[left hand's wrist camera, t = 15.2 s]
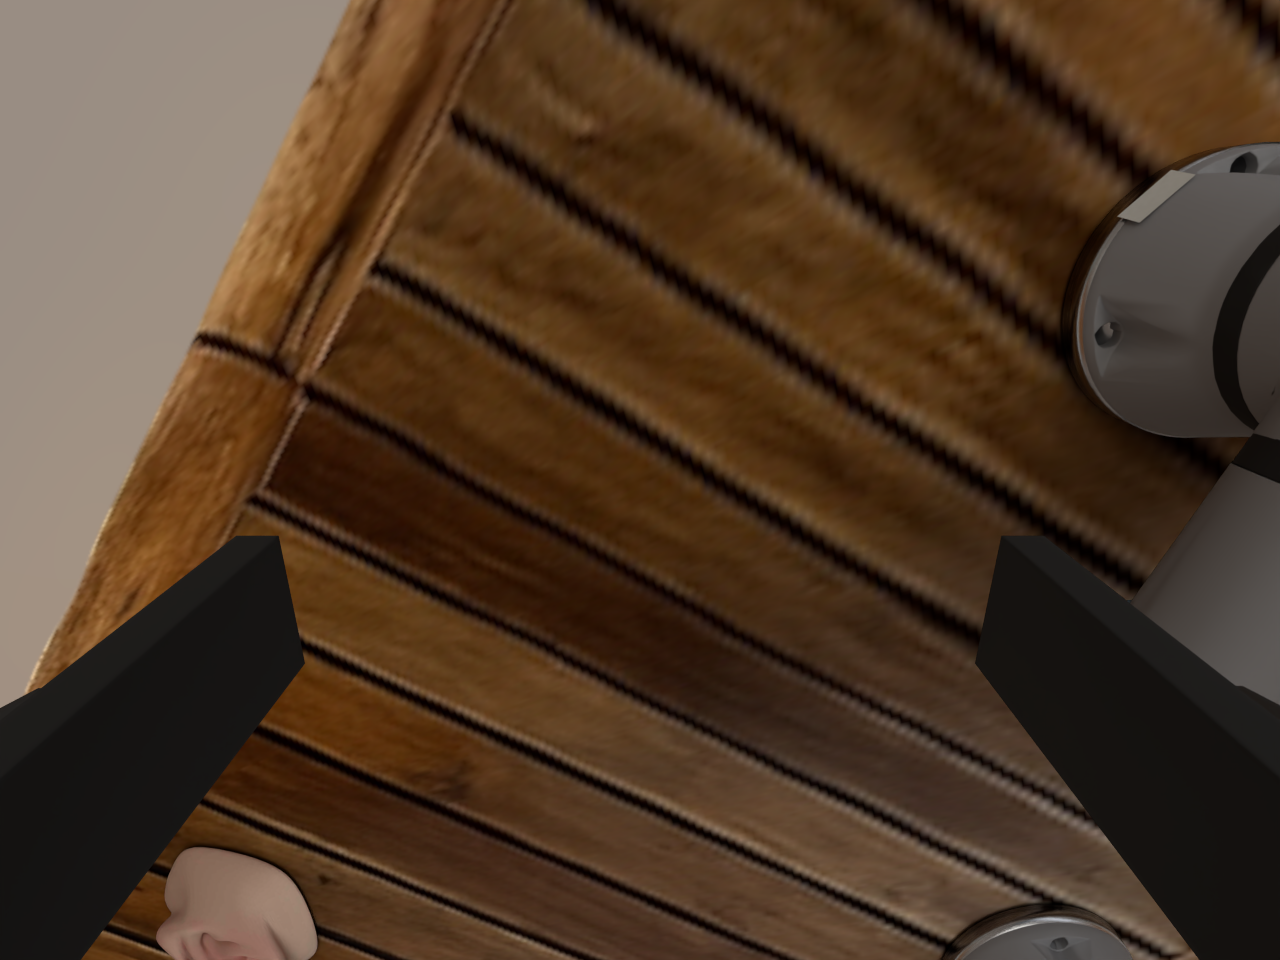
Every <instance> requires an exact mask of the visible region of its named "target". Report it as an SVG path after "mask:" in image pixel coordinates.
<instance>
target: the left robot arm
mask: <svg viewBox="0 0 1280 960" xmlns="http://www.w3.org/2000/svg"><path fill="white" fill-rule="evenodd" d="M1062 336H1063V346H1064V351H1065V355H1066V359H1067V362H1068V365H1069V368H1070V370H1071V373H1072V375H1073V377H1074V379H1075V381H1076V382H1077V384H1078V385H1079V387H1080V389H1081V390H1082V391H1083V392H1084V394H1085V395H1086V396H1087V397H1088V398H1089V399H1090V400H1091V401H1092V402H1093V403H1094V404H1095V405H1096V406H1097V407H1099V408H1100V409H1101V410H1103V411H1104V412H1106V413H1107V414H1109V415H1111V416H1113V417H1114V418H1116V419H1119V420H1121V421H1124V422H1126V423H1128V424H1131V425H1133V426H1136V427H1138V428H1140V429H1143V430H1145V431H1148V432H1151V433H1155V434H1158V435H1164V436H1169V437H1181V438H1194V437H1250V438H1249V439H1248V441H1247V442H1246V444H1245V445H1244V446H1243V448H1242V449H1241V451H1240V452H1239V453H1238V455H1237V456H1236V458H1235V459H1234V460H1233V461H1232V463H1230V465H1229V466H1228V467H1227V469H1226V470H1225V472H1224V473H1223V474H1222V476H1221V477H1220V479H1219V480H1218V481H1217V483H1216V484H1215V486H1214V487H1213V488H1212V490H1211V491H1210V492H1209V494H1208V495H1207V497H1206V498H1205V499H1204V501H1203V502H1202V504H1201V505H1200V506H1199V508H1198V509H1197V511H1196V512H1195V513H1194V515H1193V516H1192V518H1191V519H1190V520H1189V522H1188V523H1187V524H1186V526H1185V527H1184V529H1183V530H1182V531H1181V533H1180V534H1179V536H1178V537H1177V538H1176V540H1175V541H1174V543H1173V544H1172V545H1171V547H1170V548H1169V550H1168V551H1167V552H1166V554H1165V555H1164V557H1163V558H1162V559H1161V561H1160V562H1159V563H1158V565H1157V566H1156V568H1155V569H1154V570H1153V572H1152V573H1151V575H1150V576H1149V577H1148V579H1147V580H1146V582H1145V583H1144V584H1143V586H1142V587H1141V589H1140V590H1139V591H1138V593H1137V594H1136V596H1135V597H1134V598H1133V600H1127V601H1126V600H1125V599H1124V598H1123V597H1121V596H1120V595H1119V594H1118V593H1116V592H1115V591H1114V590H1112V589H1111V588H1110V587H1109V586H1107V585H1106V584H1105V583H1103V582H1102V581H1101V580H1100V579H1098V578H1097V577H1096V576H1094V575H1093V574H1092V573H1091V572H1089V571H1088V570H1087V569H1086V568H1084V567H1083V566H1082V565H1080V564H1079V563H1078V562H1077V561H1075V560H1074V559H1073V558H1071V557H1070V556H1069V555H1068V554H1066V553H1065V552H1064V551H1062V550H1061V549H1060V548H1059V547H1057V546H1056V545H1055V544H1053V543H1052V542H1051V541H1050V540H1048V539H1047V538H1046V537H1045V536H1001V541H1000V545H999V550H998V555H997V560H996V565H995V570H994V574H993V579H992V584H991V589H990V594H989V599H988V604H987V608H986V613H985V618H984V623H983V628H982V633H981V637H980V642H979V647H978V652H977V657H976V662H975V664H976V665H977V667H978V668H979V669H980V671H981V672H982V673H983V674H984V676H985V677H986V678H987V680H988V681H989V682H990V684H991V685H992V686H993V688H994V689H995V690H996V692H997V693H998V694H999V696H1000V697H1001V698H1002V700H1003V701H1004V702H1005V704H1006V705H1007V706H1008V708H1009V709H1010V710H1011V711H1012V713H1013V714H1014V715H1015V717H1016V718H1017V719H1018V721H1019V722H1020V723H1021V725H1022V726H1023V727H1024V729H1025V730H1026V731H1027V733H1028V734H1029V735H1030V737H1031V738H1032V739H1033V741H1034V742H1035V743H1036V745H1037V746H1038V747H1039V748H1040V750H1041V751H1042V752H1043V754H1044V755H1045V756H1046V758H1047V759H1048V760H1049V762H1050V763H1051V764H1052V766H1053V767H1054V768H1055V770H1056V771H1057V772H1058V774H1059V775H1060V776H1061V778H1062V779H1063V780H1064V781H1065V783H1066V784H1067V785H1068V787H1069V788H1070V789H1071V791H1072V792H1073V793H1074V795H1075V796H1076V797H1077V799H1078V800H1079V801H1080V803H1081V804H1082V805H1083V807H1084V808H1085V809H1086V811H1087V812H1088V813H1089V815H1090V816H1091V817H1092V818H1093V820H1094V821H1095V822H1096V824H1097V825H1098V826H1099V828H1100V829H1101V830H1102V832H1103V833H1104V834H1105V836H1106V837H1107V838H1108V840H1109V841H1110V842H1111V844H1112V845H1113V846H1114V848H1115V849H1116V850H1117V852H1118V853H1119V854H1120V855H1121V857H1122V858H1123V859H1124V861H1125V862H1126V863H1127V865H1128V866H1129V867H1130V869H1131V870H1132V871H1133V873H1134V874H1135V875H1136V877H1137V878H1138V879H1139V881H1140V882H1141V883H1142V885H1143V886H1144V887H1145V889H1146V890H1147V891H1148V892H1149V894H1150V895H1151V896H1152V898H1153V899H1154V900H1155V902H1156V903H1157V904H1158V906H1159V907H1160V908H1161V910H1162V911H1163V912H1164V914H1165V915H1166V916H1167V918H1168V919H1169V920H1170V922H1171V923H1172V924H1173V926H1174V927H1175V928H1176V929H1177V931H1178V932H1179V933H1180V935H1181V936H1182V937H1183V939H1184V940H1185V941H1186V943H1187V944H1188V945H1189V947H1190V948H1191V949H1192V951H1193V952H1194V953H1195V955H1196V956H1197V957H1198V959H1199V960H1280V142H1262V143H1254V144H1246V145H1238V146H1230V147H1222V148H1217V149H1212V150H1208V151H1204V152H1201V153H1198V154H1195V155H1192V156H1189V157H1187V158H1184V159H1182V160H1180V161H1177V162H1175V163H1173V164H1171V165H1170V166H1168V167H1166V168H1164V169H1162V170H1160V171H1159V172H1157V173H1156V174H1154V175H1152V176H1151V177H1149V178H1148V179H1146V180H1145V181H1144V182H1142V183H1141V184H1140V185H1138V186H1137V187H1136V188H1134V189H1133V190H1132V191H1131V192H1130V193H1129V194H1128V195H1127V196H1125V197H1124V198H1123V199H1122V200H1121V201H1120V202H1119V203H1118V204H1117V205H1116V206H1115V207H1114V208H1113V209H1112V210H1111V211H1110V213H1109V214H1108V215H1107V216H1106V217H1105V219H1104V220H1103V221H1102V222H1101V223H1100V225H1099V226H1098V228H1097V229H1096V230H1095V232H1094V233H1093V235H1092V236H1091V238H1090V239H1089V241H1088V243H1087V244H1086V246H1085V248H1084V249H1083V251H1082V253H1081V255H1080V257H1079V259H1078V261H1077V263H1076V266H1075V268H1074V271H1073V273H1072V276H1071V278H1070V282H1069V285H1068V289H1067V292H1066V297H1065V302H1064V307H1063V317H1062ZM304 664H305V662H304V657H303V652H302V647H301V642H300V637H299V633H298V628H297V623H296V618H295V613H294V608H293V604H292V599H291V594H290V589H289V584H288V579H287V575H286V570H285V565H284V560H283V555H282V550H281V545H280V541H279V536H235V537H234V538H233V539H232V540H230V541H229V542H228V543H227V544H225V545H224V546H223V547H221V548H220V549H219V550H218V551H216V552H215V553H214V554H212V555H211V556H210V557H209V558H207V559H206V560H205V561H203V562H202V563H201V564H200V565H198V566H197V567H196V568H194V569H193V570H192V571H191V572H189V573H188V574H187V575H186V576H184V577H183V578H182V579H180V580H179V581H178V582H177V583H175V584H174V585H173V586H171V587H170V588H169V589H168V590H166V591H165V592H164V593H162V594H161V595H160V596H159V597H157V598H156V599H155V600H154V601H152V602H151V603H150V604H148V605H147V606H146V607H145V608H143V609H142V610H141V611H139V612H138V613H137V614H136V615H134V616H133V617H132V618H130V619H129V620H128V621H127V622H125V623H124V624H123V625H121V626H120V627H119V628H118V629H116V630H115V631H114V632H113V633H111V634H110V635H109V636H107V637H106V638H105V639H104V640H102V641H101V642H100V643H98V644H97V645H96V646H95V647H93V648H92V649H91V650H89V651H88V652H87V653H86V654H84V655H83V656H82V657H81V658H79V659H78V660H77V661H75V662H74V663H73V664H72V665H70V666H69V667H68V668H66V669H65V670H64V671H63V672H61V673H60V674H59V675H57V676H56V677H55V678H54V679H52V680H51V681H50V682H48V683H47V684H46V685H45V686H43V687H42V688H38V689H36V690H34V691H32V692H30V693H28V694H26V695H24V696H22V697H21V698H19V699H17V700H15V701H13V702H11V703H9V704H7V705H5V706H3V707H1V708H0V960H81V959H82V957H83V956H84V955H85V953H86V952H87V951H88V949H89V948H90V947H91V945H92V944H93V943H94V941H95V940H96V939H97V937H98V936H99V935H100V933H101V932H102V931H103V929H104V928H105V927H106V926H107V924H108V923H109V922H110V920H111V919H112V918H113V916H114V915H115V914H116V912H117V911H118V910H119V908H120V907H121V906H122V904H123V903H124V902H125V900H126V899H127V898H128V896H129V895H130V894H131V892H132V891H133V890H134V889H135V887H136V886H137V885H138V883H139V882H140V881H141V879H142V878H143V877H144V875H145V874H146V873H147V871H148V870H149V869H150V867H151V866H152V865H153V863H154V862H155V861H156V859H157V858H158V857H159V855H160V854H161V853H162V852H163V850H164V849H165V848H166V846H167V845H168V844H169V842H170V841H171V840H172V838H173V837H174V836H175V834H176V833H177V832H178V830H179V829H180V828H181V826H182V825H183V824H184V822H185V821H186V820H187V818H188V817H189V816H190V815H191V813H192V812H193V811H194V809H195V808H196V807H197V805H198V804H199V803H200V801H201V800H202V799H203V797H204V796H205V795H206V793H207V792H208V791H209V789H210V788H211V787H212V785H213V784H214V783H215V781H216V780H217V779H218V778H219V776H220V775H221V774H222V772H223V771H224V770H225V768H226V767H227V766H228V764H229V763H230V762H231V760H232V759H233V758H234V756H235V755H236V754H237V752H238V751H239V750H240V748H241V747H242V746H243V745H244V743H245V742H246V741H247V739H248V738H249V737H250V735H251V734H252V733H253V731H254V730H255V729H256V727H257V726H258V725H259V723H260V722H261V721H262V719H263V718H264V717H265V715H266V714H267V713H268V711H269V710H270V709H271V708H272V706H273V705H274V704H275V702H276V701H277V700H278V698H279V697H280V696H281V694H282V693H283V692H284V690H285V689H286V688H287V686H288V685H289V684H290V682H291V681H292V680H293V678H294V677H295V676H296V674H297V673H298V672H299V671H300V669H301V668H302V667H303V665H304Z"/></svg>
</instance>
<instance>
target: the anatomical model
mask: <svg viewBox="0 0 1280 960" xmlns="http://www.w3.org/2000/svg"><path fill="white" fill-rule="evenodd" d="M165 901H166V904H167V906H168V908H169V910H170V911H171V913H172V914H171V916H170V917H169V918H168V919H167V920H166V921H165V922H164V923H163V924H162V925H161V927H160V928H159V930H158V932H157V935H156V939H157V942H158V943H159V945H160V946H161V947H162V948H163V949H164V950H165V951H166V952H167V953H168V954H170V955H171V956H172V957H173V958H174V959H175V960H308V959H309V958H310V957H312V956H313V955H314V953H315V952H316V949H317V935H316V930H315V926H314V923H313V920H312V917H311V914H310V912H309V910H308V907H307V905H306V903H305V900H304V898H303V896H302V895H301V893H300V891H299V890H298V888H297V886H296V885H295V884H294V882H293V881H292V880H291V879H290V878H289V877H288V876H287V875H286V874H285V873H284V872H282V871H281V870H279V869H278V868H276V867H275V866H273V865H271V864H269V863H266V862H264V861H261V860H259V859H256V858H253V857H249V856H246V855H243V854H239V853H235V852H230V851H225V850H221V849H214V848H207V847H194V848H189V849H186V850H184V851H183V852H182V853H181V854H180V855H179V856H178V858H177V859H176V861H175V862H174V865H173V867H172V869H171V871H170V874H169V876H168V879H167V883H166V889H165Z"/></svg>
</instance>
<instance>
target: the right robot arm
mask: <svg viewBox="0 0 1280 960" xmlns="http://www.w3.org/2000/svg"><path fill="white" fill-rule="evenodd" d="M942 960H1133V959H1132V957H1131V954H1130V953H1129V951H1128V949H1127V948H1126V946H1125V945H1124V943H1123V942H1122V940H1121V939H1120V937H1119V936H1118V934H1117V933H1116V931H1115V930H1114V929H1113V928H1112V927H1111V926H1110V925H1109V924H1108V923H1107V922H1106V921H1105V920H1103V919H1102V918H1100V917H1099V916H1097V915H1095V914H1093V913H1091V912H1088V911H1086V910H1082V909H1079V908H1075V907H1071V906H1064V905H1032V906H1025V907H1020V908H1016V909H1012V910H1008V911H1005V912H1002V913H999V914H996V915H994V916H991V917H989V918H987V919H985V920H983V921H981V922H979V923H978V924H976V925H974V926H973V927H971V928H970V929H969V930H967V931H966V932H965V933H963V934H962V935H961V936H960V937H959V938H958V939H957V940H956V941H955V942H954V943H953V944H952V945H951V946H950V948H949V949H948V951H947V952H946V954H945V955H944V957H943V959H942Z"/></svg>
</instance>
